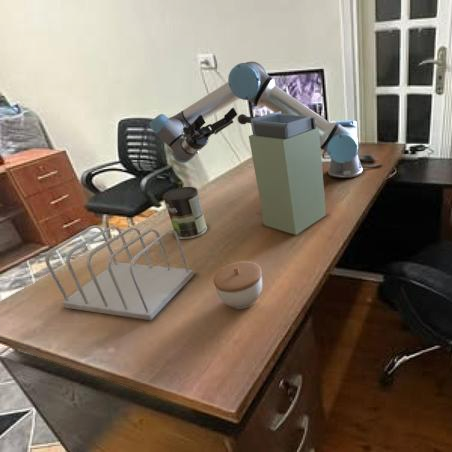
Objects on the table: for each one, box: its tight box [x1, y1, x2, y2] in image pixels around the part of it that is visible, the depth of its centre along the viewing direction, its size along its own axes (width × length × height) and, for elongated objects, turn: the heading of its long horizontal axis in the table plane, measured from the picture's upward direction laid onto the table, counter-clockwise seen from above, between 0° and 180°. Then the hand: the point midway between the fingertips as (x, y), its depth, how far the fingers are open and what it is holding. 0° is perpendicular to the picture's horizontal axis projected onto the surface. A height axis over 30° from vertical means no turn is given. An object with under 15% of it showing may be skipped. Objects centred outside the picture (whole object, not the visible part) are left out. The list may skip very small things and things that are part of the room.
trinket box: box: [213, 260, 263, 310], centre depth 81 cm, size 11×11×9 cm
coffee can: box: [162, 186, 208, 240], centre depth 114 cm, size 10×10×14 cm
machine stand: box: [248, 117, 327, 236], centre depth 112 cm, size 14×16×33 cm
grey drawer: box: [237, 111, 312, 138], centre depth 108 cm, size 26×12×4 cm, turn 54°
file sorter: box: [44, 224, 195, 321], centre depth 86 cm, size 25×17×16 cm
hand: (219, 114), depth 120 cm, fingers open, 13 cm apart
